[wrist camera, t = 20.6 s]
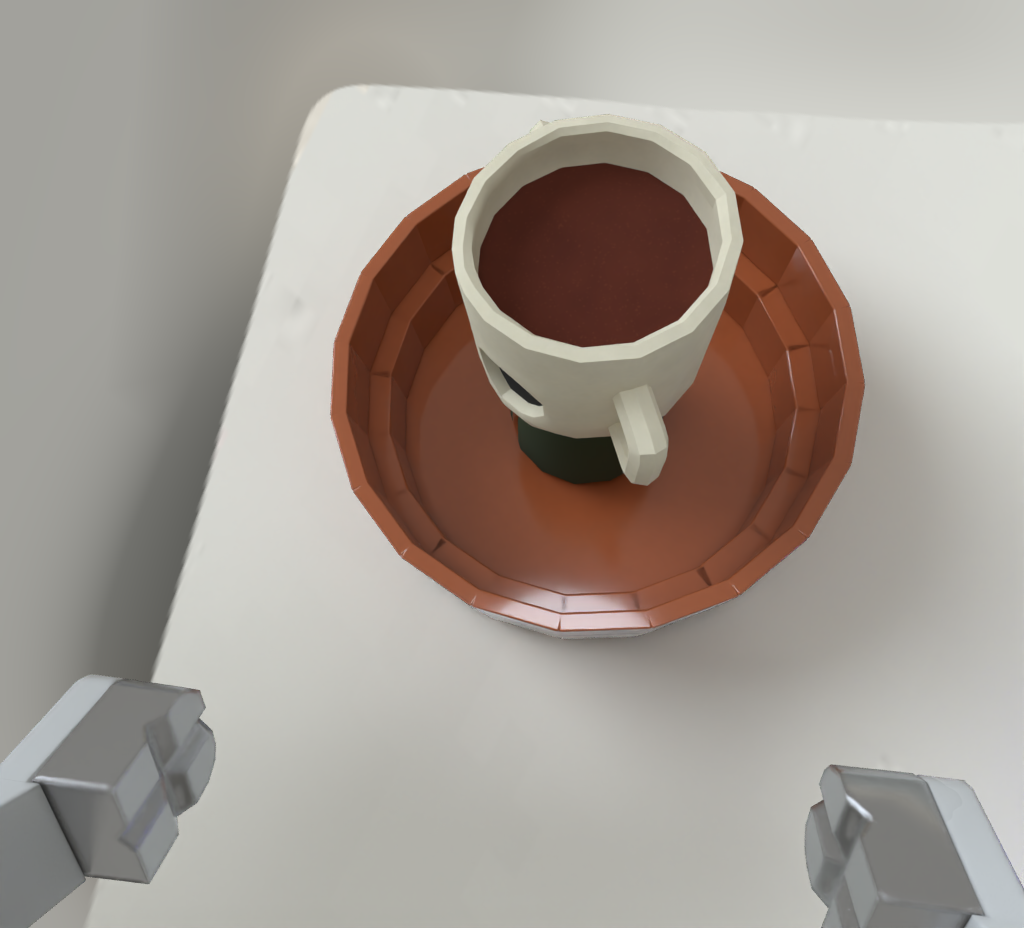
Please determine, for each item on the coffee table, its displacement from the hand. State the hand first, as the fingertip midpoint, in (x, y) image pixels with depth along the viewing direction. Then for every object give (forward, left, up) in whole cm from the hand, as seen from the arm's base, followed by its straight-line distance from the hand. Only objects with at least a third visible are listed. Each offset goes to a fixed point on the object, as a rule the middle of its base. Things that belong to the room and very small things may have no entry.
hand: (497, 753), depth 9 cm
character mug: (-1, +11, -18) cm, 21 cm away
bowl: (-1, +11, -19) cm, 22 cm away
